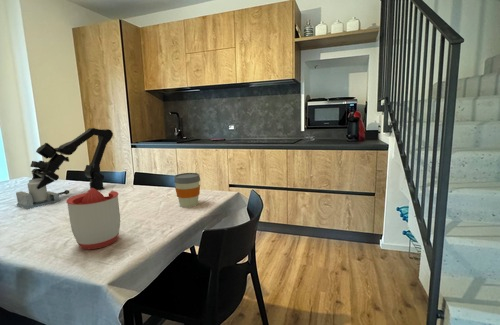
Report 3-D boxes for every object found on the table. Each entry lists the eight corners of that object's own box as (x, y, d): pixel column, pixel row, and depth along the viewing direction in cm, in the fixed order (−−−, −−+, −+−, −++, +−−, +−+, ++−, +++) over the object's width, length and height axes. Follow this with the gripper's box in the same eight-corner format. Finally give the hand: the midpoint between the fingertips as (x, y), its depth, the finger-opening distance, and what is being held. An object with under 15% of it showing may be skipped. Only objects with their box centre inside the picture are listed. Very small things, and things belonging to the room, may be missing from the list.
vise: (64, 194, 159) (62, 182, 157) (75, 197, 152) (73, 185, 151) (16, 205, 140) (14, 192, 139) (27, 209, 133) (24, 195, 132)
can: (51, 200, 144) (47, 178, 142) (34, 204, 138) (30, 181, 136) (44, 198, 148) (40, 177, 146) (28, 202, 141) (24, 180, 139)
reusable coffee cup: (195, 209, 127) (193, 178, 124) (171, 208, 129) (169, 177, 127) (205, 201, 139) (203, 172, 136) (182, 200, 141) (180, 172, 139)
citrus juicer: (132, 230, 105) (126, 180, 101) (111, 252, 87) (103, 193, 84) (91, 231, 104) (85, 182, 101) (62, 254, 87) (53, 195, 84)
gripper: (32, 154, 147) (11, 177, 139) (48, 155, 137) (25, 181, 130) (51, 165, 155) (31, 188, 147) (67, 168, 145) (47, 192, 137)
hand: (33, 187), depth 140 cm, fingers open, 9 cm apart
